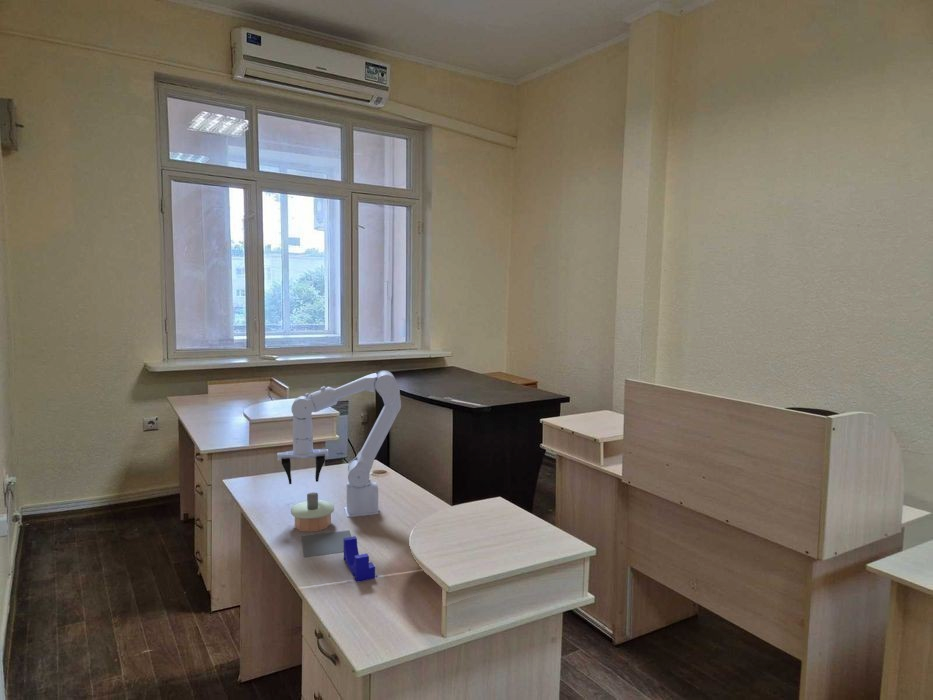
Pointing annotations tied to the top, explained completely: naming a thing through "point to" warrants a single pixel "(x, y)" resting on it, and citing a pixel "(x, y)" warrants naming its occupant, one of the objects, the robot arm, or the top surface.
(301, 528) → the bowl
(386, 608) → the top surface
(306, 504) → the lid
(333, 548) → the mat
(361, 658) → the top surface
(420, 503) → the top surface
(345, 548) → the blue stepped bracket
